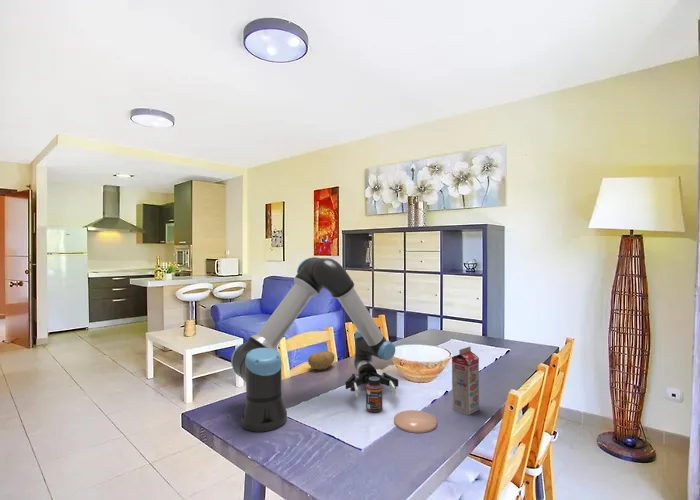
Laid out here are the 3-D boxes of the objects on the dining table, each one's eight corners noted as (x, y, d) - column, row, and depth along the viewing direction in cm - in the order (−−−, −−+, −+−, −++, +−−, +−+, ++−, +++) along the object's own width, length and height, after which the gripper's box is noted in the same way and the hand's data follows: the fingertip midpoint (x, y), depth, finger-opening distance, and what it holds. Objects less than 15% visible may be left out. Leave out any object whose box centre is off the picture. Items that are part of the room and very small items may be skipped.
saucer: (431, 436, 117) (431, 433, 117) (388, 427, 122) (388, 424, 122) (440, 417, 129) (440, 414, 129) (400, 410, 135) (400, 407, 135)
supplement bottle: (369, 414, 132) (368, 382, 132) (363, 407, 138) (363, 376, 138) (385, 411, 134) (384, 380, 134) (379, 405, 140) (379, 374, 140)
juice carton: (452, 408, 136) (451, 347, 136) (462, 403, 140) (462, 344, 140) (468, 415, 131) (468, 351, 130) (479, 409, 135) (478, 348, 135)
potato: (339, 368, 182) (339, 351, 182) (314, 374, 173) (314, 357, 173) (328, 363, 189) (328, 347, 189) (304, 369, 181) (303, 352, 181)
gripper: (396, 379, 158) (409, 400, 137) (337, 382, 156) (341, 404, 135) (396, 361, 158) (409, 379, 137) (336, 364, 156) (340, 383, 135)
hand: (375, 392), depth 136 cm, fingers open, 13 cm apart
